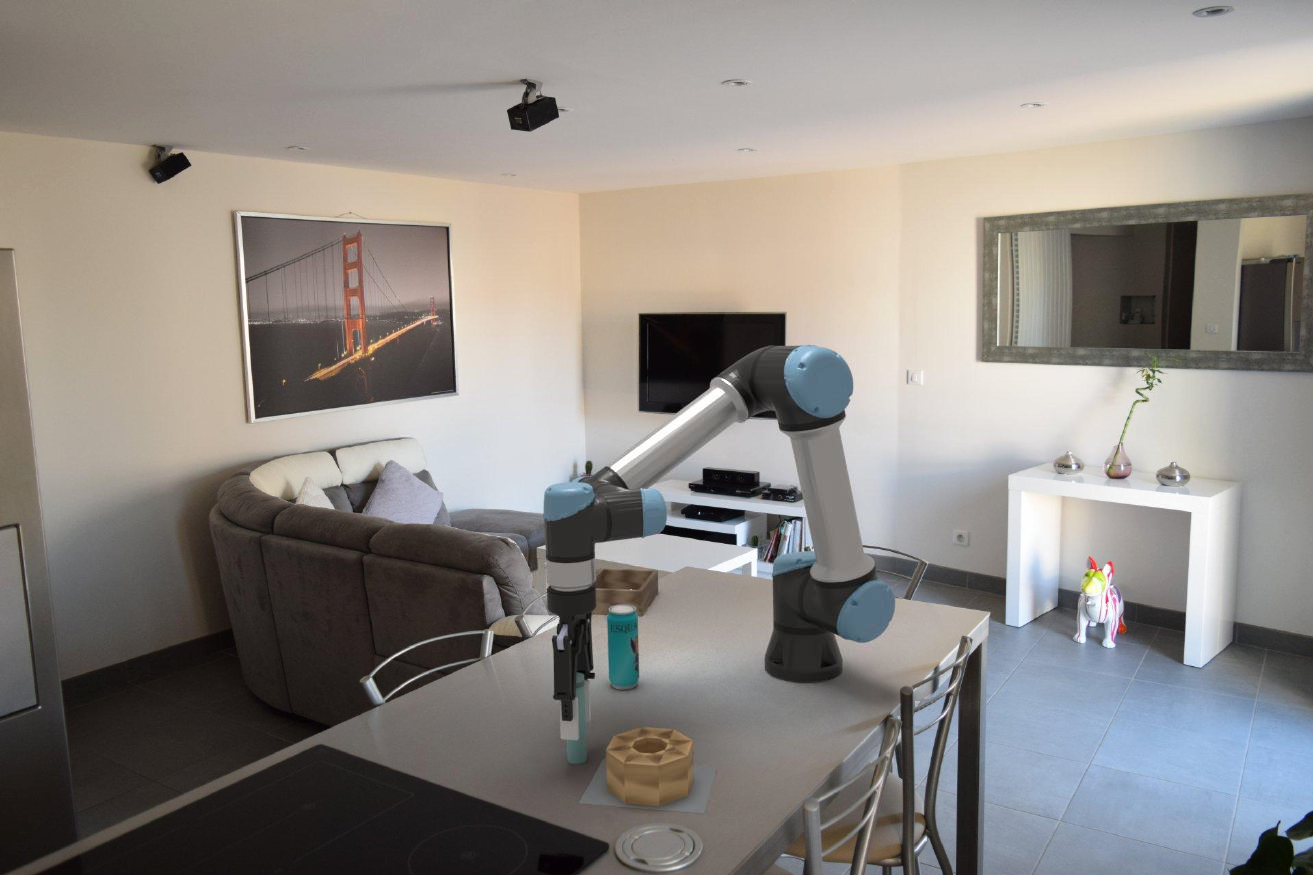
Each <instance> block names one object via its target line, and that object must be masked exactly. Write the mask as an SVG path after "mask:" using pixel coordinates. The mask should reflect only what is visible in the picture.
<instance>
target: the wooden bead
mask: <svg viewBox="0 0 1313 875" xmlns="http://www.w3.org/2000/svg"><path fill="white" fill-rule="evenodd" d="M605 759H606V771H607V790H609V791H610V792H611V793H612V794H614V795H615V796H616V797H617V798H619V799H620V800H621V801H623V802H624V803H626V804H638V805H651V806H661V805H664V804H667V803H670V802H672V801H675V800H678V799H681V798H684V797H686V796H688V795H689V792H690V789H691V786H692V783H693V780H694V766H693V765H694V740H693V739H691V738H689V737H688V736H685V735H684V734H682V733H681V732H679V731H678V730H676V729H674V728H664V727H663V728H660V727H649V726H648V727H647V726H641V727H638V728H634V729H631V730H627V731H625V732H621V733H618V734H614V735H613V737H612V738H611V740H610V742H609V744H608V746H607V747H606V749H605Z"/></svg>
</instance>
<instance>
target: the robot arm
mask: <svg viewBox="0 0 1313 875" xmlns="http://www.w3.org/2000/svg"><path fill="white" fill-rule="evenodd" d="M853 393H854V379H853V374H852V371H851V368H850V366H849V364H848V362H847V361H846V360H845V358H843V356H842V355H841V354H839V353H838V352H836V351H835V350H833V349H831V348H828V347H824V346H823V347H822V346H818V345H811V344H807V345H768V346H764V347H762V348H761V347H760V348H758V349H756V350H754V351H752V352H750V353H748V354H747V355H745V356H744V357H742V358H740V359H739V360H737V361H736V362H735V363H733V364H732V365H730V366H729V367H728V368H726V369H725V370H723V371H722V372H720V373H719V374H717V375H716V376H715V377H714V378H712V379H711V381H710V383H709V388H708V389H707V390H706V391H704V392H703V393H702V394H700V395H699V396H698V397H696V398H695V399H694V400H692V401H691V402H690V403H689V404H687V405H686V406H684V407H683V408H682V409H680V410H679V411H677V413H674V414H673V415H672V416H670V417H669V418H668V419H667V420H665V421H664V422H663V423H661V425H659V426H658V427H657V428H655V429H654V430H652V431H651V432H650V433H648V434H647V435H646V436H644V437H643V438H641V439H640V440H639V441H638V442H636V443H635V444H634V445H633V446H630V447H629V448H628V449H626V450H625V451H623V453H622V454H619V456H617V457H616V458H615V459H613V460H612V461H611V462H610V463H608V464H606V465H605V466H604V467H602V468H601V469H600V470H599V471H597V472H596V473H594V474H592V475H591V476H589V475H587V476H580V477H577V478H575V479H573V480H572V481H570V482H558V483H554V484H552V485H549V486H548V487H547V488H546V489H545V490H544V494H543V496H544V497H543V513H542V515H543V516H542V518H543V527H544V544H545V546H544V547H545V562H543V564H542V567H543V569H545V570H546V583H547V585H548V587H547V588H546V602H547V603H546V604H547V605H546V606H547V609H548V611H549V612H550V613H551V614H553V615H557V616H558V618H559V619H558V623H557V625H556V635H552V637H551V644H552V651H553V695H552V698H553V700H554V701H559V702H558V703H559V705H558V706H559V725H560V726H559V727H560V729H559V730H560V731H559V732H560V740H566V741H567V740H578V739H579V718H578V697H576V695H575V694H576V675H577V672H579V673H582V674H584V679H585V685H584V689H585V719H586V722H588V723H590V722H591V720H592V715H591V714H592V709H591V707H592V706H591V681H590V680H595V678H596V672H591V671H593V670H594V655H593V654H594V652H593V634H592V632H593V630H592V617H593V614H592V612H591V611H593V610H594V609H595V608H596V605H597V604H596V586H595V585H594V584H593V583H594V582H595V581H596V572H597V571H596V544H600V543H608V542H614V541H623V540H630V539H631V540H632V539H638V538H642V539H644V538H646V537H650V536H654V535H655V536H656V535H658V534H660V533H661V532H662V531H664V529H665V527H666V525H667V520H668V511H667V510H668V509H667V505H666V501H665V498H664V496H663V495H662V494H663V493H661V492H660V491H659V490H658V489H656V488H650V487H652V486H654V485H655V484H656V483H657V482H659V481H660V480H661V479H662V478H663V477H664V476H666V475H668V474H669V473H670V472H671V471H672V470H674V469H675V468H677V467H678V466H679V465H681V464H682V463H684V462H685V461H686V460H687V459H688V458H690V457H691V456H692V455H694V454H695V453H696V452H697V451H699V450H701V448H703V447H705V446H706V445H707V444H708V443H709V442H711V441H713V439H715V438H716V437H717V436H719V435H720V434H721V433H723V432H724V431H725V430H726V429H727V428H729V427H730V426H732V425H733V424H734V423H740V424H741V423H742V424H743V423H745V422H747V421H748V420H749V419H750V418H751V417H753V416H755V415H757V414H760V413H763V412H767V411H773V412H775V415H776V416H775V417H776V420H777V425H778V429H779V431H780V432H781V433H783V434H785V435H786V436H787V437H788V438H789V439H790V443H791V448H792V452H793V457H794V461H795V462H794V463H795V467H796V472H797V477H798V481H799V485H800V486H799V487H800V490H801V495H802V500H803V505H804V511H805V514H806V519H807V522H808V529H809V534H810V537H811V542H812V547H813V550H811V551H810V550H807V551H806V550H805V551H794V552H788V553H783V554H780V555H779V556H777V557H776V558H774V560H773V564H772V573H771V577H772V617H773V618H772V623H773V624H772V627H773V629H772V632H771V636H770V638H769V641H768V645H767V647H766V649H765V653H764V654H765V655H764V670H765V671H766V672H767V673H768V674H769V675H771V676H772V677H774V678H777V679H781V680H784V681H789V682H796V683H819V682H825V681H829V680H832V679H835V678H837V677H839V676H840V675H841V674H842V672H843V666H844V665H843V657H842V654H841V650H840V647H839V643H838V640H837V638H836V636H838V637H841V638H842V639H844V640H846V641H853V642H855V643H859V644H861V643H862V644H864V643H869V642H871V641H874V640H876V639H878V638H879V637H880V636H881V635H882V634H883V633H884V632H886V631H887V629H888V627H889V625H890V622H892V620H893V617H894V615H895V610H896V596H895V593H894V591H893V589H892V587H891V586H889V584H887V583H886V582H885V581H883V580H879V577H878V572H877V568H876V562H875V559H874V558H873V557H872V556H870V555H869V554H866V553H865V552H864V546H863V541H862V537H861V536H862V535H861V532H860V527H859V521H858V516H857V511H856V507H855V501H854V496H853V491H852V486H851V481H850V476H849V470H848V465H847V461H846V456H845V450H844V447H843V442H842V441H843V440H842V435H841V431H840V426H842V424H843V422H844V421H845V420H846V418H847V415H846V409H847V407H848V406H849V404H850V402H851V398H850V397H851V396H853Z"/></svg>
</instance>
